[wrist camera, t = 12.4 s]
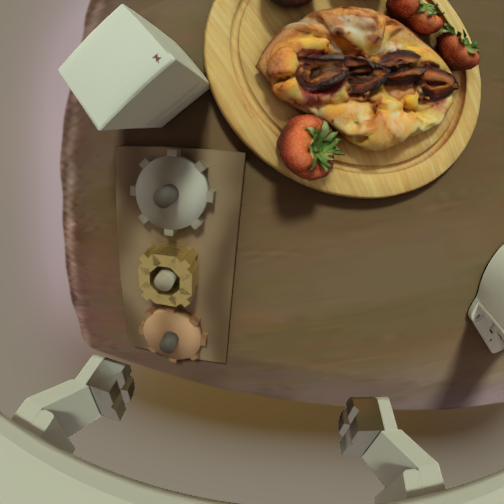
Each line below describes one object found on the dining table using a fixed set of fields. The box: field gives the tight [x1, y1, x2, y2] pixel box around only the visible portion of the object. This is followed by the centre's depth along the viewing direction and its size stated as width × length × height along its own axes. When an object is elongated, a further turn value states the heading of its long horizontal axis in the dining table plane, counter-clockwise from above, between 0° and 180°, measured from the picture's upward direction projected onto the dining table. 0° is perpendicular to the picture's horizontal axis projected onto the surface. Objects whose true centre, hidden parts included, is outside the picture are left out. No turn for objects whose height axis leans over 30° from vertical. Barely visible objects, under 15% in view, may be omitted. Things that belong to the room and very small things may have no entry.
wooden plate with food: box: [203, 0, 481, 199], centre depth 21 cm, size 32×32×8 cm
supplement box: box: [58, 4, 210, 131], centre depth 21 cm, size 7×7×13 cm
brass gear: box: [138, 243, 199, 307], centre depth 32 cm, size 6×6×3 cm
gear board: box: [116, 146, 247, 363], centre depth 33 cm, size 14×27×5 cm, turn 174°
